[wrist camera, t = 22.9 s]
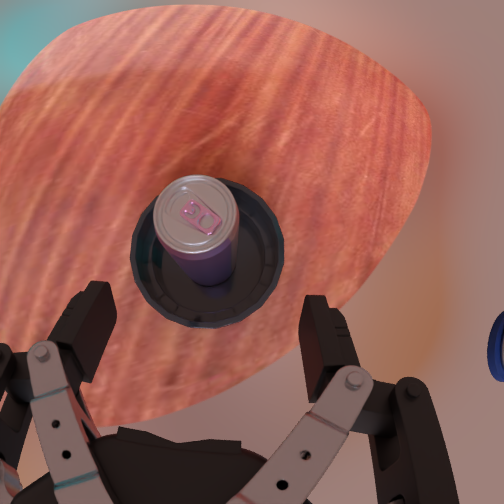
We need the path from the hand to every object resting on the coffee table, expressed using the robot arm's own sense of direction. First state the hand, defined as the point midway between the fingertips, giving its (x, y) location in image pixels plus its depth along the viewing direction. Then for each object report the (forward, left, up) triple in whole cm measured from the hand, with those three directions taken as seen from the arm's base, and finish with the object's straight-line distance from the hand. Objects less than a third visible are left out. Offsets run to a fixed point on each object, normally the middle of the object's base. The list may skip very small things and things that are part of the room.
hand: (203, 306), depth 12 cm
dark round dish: (+7, -1, -22) cm, 23 cm away
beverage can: (+7, -1, -22) cm, 23 cm away
